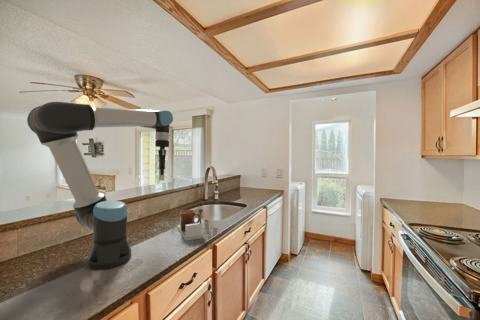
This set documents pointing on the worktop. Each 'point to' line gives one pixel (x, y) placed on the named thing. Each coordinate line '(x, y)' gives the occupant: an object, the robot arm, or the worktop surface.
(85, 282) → the worktop surface
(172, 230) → the worktop surface
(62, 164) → the robot arm
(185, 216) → the mug
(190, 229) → the vise
